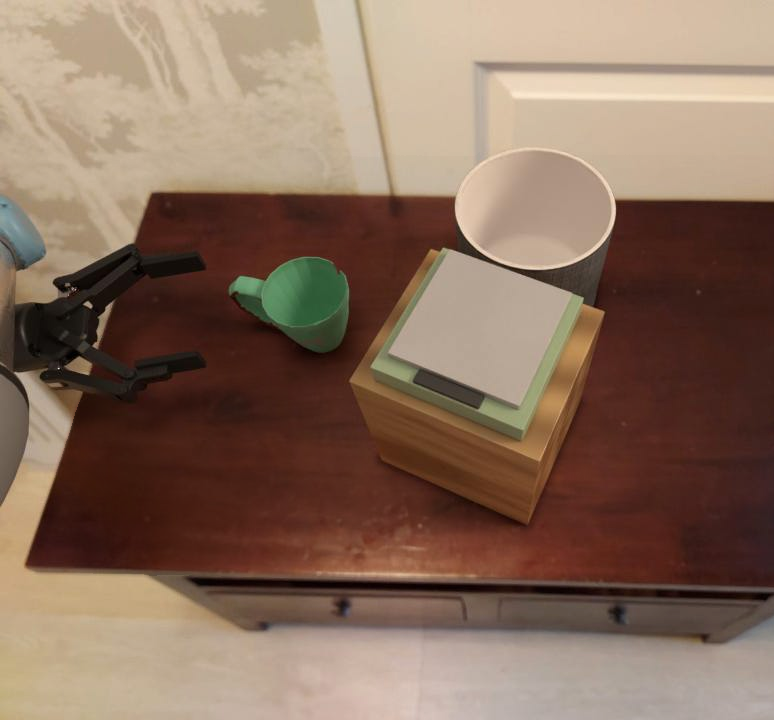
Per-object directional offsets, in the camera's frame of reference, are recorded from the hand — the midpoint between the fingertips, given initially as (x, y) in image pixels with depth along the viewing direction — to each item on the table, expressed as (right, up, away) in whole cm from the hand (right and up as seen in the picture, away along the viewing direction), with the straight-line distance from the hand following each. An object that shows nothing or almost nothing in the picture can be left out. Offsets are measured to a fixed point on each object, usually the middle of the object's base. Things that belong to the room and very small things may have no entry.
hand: (202, 307), depth 74 cm
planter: (+38, +4, +12) cm, 40 cm away
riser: (+32, -14, +2) cm, 35 cm away
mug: (+10, -3, +9) cm, 13 cm away
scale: (+32, -5, -16) cm, 36 cm away
